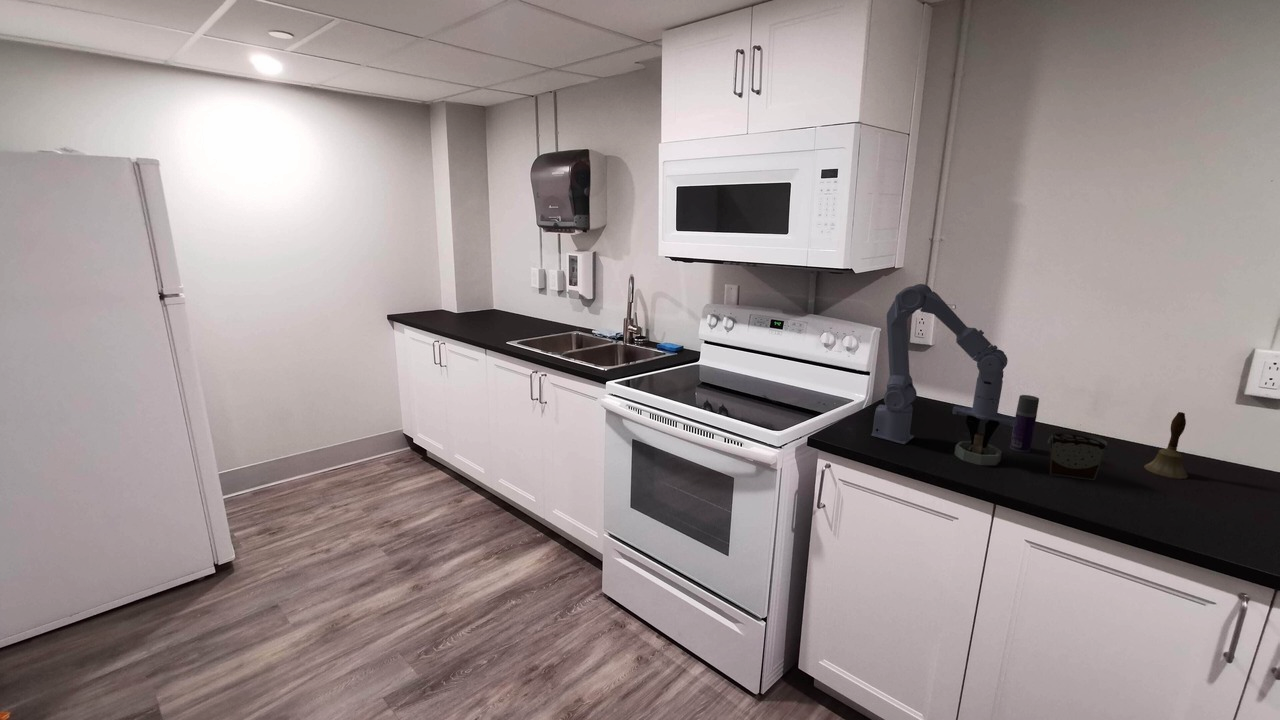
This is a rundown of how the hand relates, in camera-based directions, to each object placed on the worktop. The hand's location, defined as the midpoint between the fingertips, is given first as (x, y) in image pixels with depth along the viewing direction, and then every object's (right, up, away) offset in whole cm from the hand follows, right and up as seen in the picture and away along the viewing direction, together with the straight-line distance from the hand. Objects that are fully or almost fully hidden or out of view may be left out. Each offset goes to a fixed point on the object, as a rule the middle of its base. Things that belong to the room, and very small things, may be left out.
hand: (979, 445), depth 152 cm
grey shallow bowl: (0, -3, +1) cm, 3 cm away
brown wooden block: (0, -3, +1) cm, 3 cm away
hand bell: (+43, -6, -7) cm, 44 cm away
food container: (+18, -6, -7) cm, 20 cm away
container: (+15, -2, +7) cm, 17 cm away
